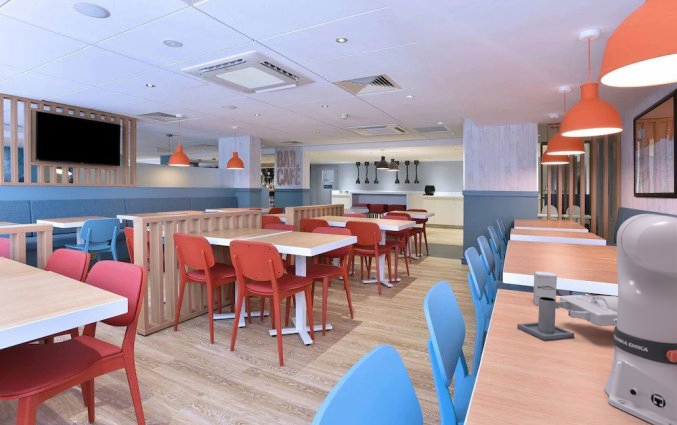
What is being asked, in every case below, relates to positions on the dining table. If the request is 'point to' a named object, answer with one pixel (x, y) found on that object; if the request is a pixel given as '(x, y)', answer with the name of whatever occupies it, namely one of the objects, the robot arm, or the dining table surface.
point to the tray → (557, 335)
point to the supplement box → (544, 285)
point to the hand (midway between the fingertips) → (560, 309)
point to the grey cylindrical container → (546, 315)
